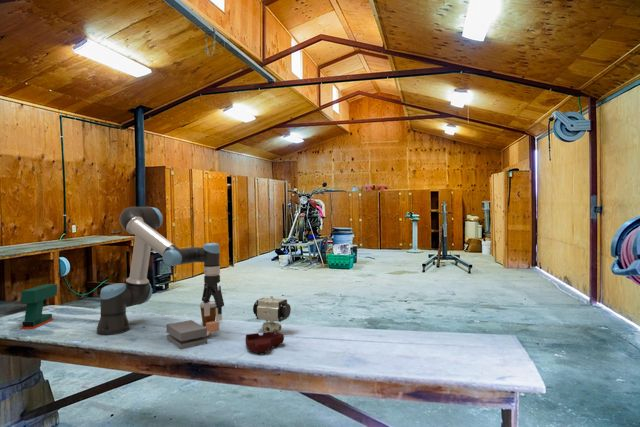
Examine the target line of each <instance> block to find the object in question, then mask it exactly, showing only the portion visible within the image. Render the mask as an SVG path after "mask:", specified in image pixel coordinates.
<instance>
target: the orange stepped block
mask: <svg viewBox="0 0 640 427" xmlns="http://www.w3.org/2000/svg"><path fill="white" fill-rule="evenodd" d="M205 327H206V328H207V333H209V335H210V334H211V333H213V332H219V331H220V321H216V320H215V321H212V322H207V323H206V326H205Z"/></svg>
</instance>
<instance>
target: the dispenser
mask: <svg viewBox="0 0 640 427" xmlns="http://www.w3.org/2000/svg"><path fill="white" fill-rule="evenodd" d="M165 328H166V333H168V334H166V340H167V341H168V342H170V343H172V344H173V345H174V346H176V347H177V348H178V349H180V350H183V349H188V348H192V347H197V346H202V345H205V344H206V345H207V343H208V339H207V338H206V337H208V336H209V335H210V334H209V333H207V328H206V326H203V324H199V322H195V321H194V320H192V319H190V320H185V321H184V320H183V321H177V322H173V323H168V324H167V323H166V326H165Z"/></svg>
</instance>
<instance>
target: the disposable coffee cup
mask: <svg viewBox="0 0 640 427" xmlns="http://www.w3.org/2000/svg"><path fill="white" fill-rule="evenodd" d="M209 303H210V316H204V302H203V301H202V302H200V303H199V307H200V314H201V322H202V326H204V327H206V323H207V322H212V321H216V308H215V307H216V303H215V300H210V302H209Z"/></svg>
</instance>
